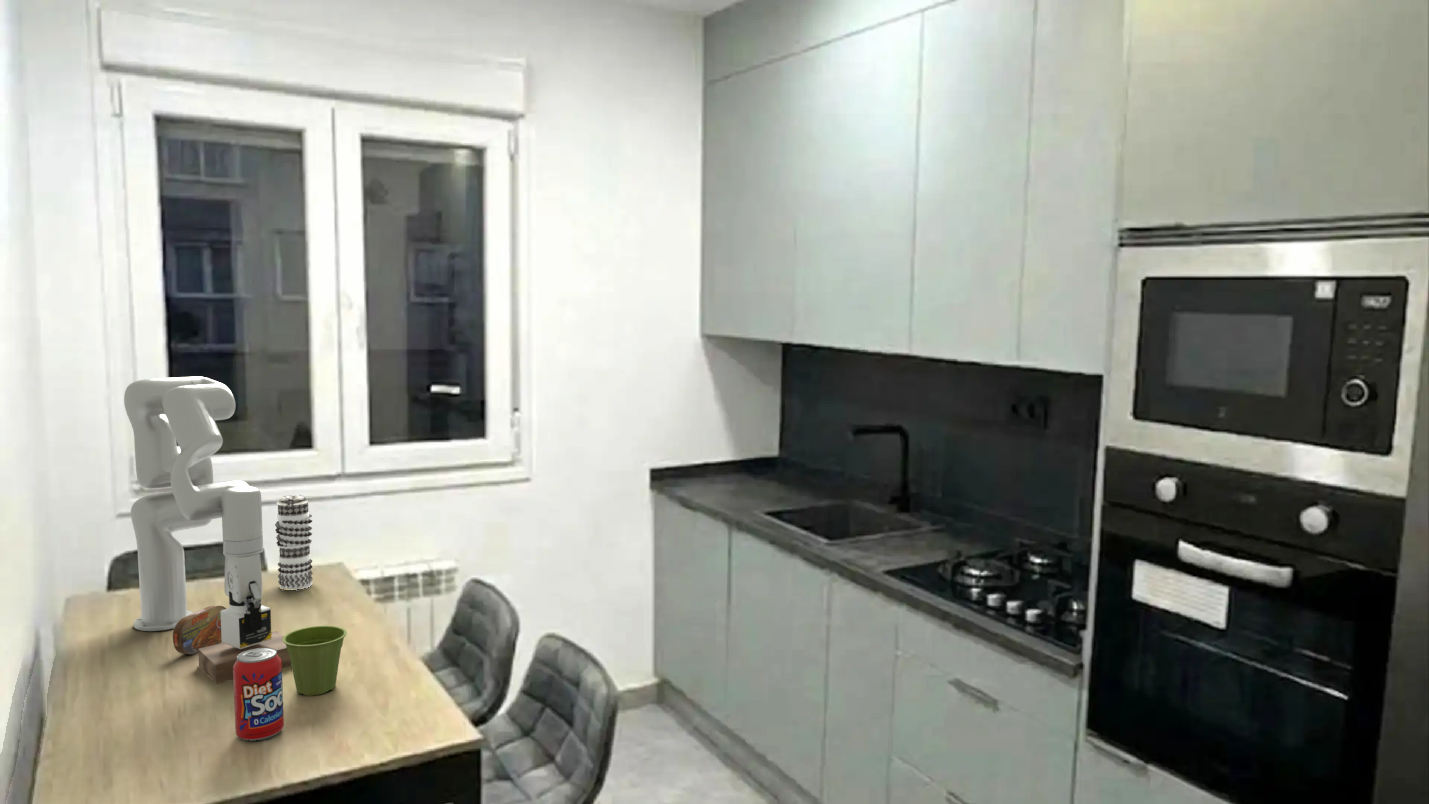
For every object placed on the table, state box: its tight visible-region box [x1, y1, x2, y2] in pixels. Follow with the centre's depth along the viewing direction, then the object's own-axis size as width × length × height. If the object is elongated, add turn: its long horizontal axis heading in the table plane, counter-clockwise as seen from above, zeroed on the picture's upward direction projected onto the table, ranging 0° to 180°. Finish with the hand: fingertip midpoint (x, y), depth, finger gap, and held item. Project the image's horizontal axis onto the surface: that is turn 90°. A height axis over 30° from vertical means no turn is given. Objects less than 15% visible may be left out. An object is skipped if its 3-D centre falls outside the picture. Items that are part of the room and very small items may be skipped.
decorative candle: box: [274, 494, 314, 591], centre depth 252 cm, size 9×9×25 cm
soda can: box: [232, 648, 285, 742], centre depth 166 cm, size 8×8×15 cm
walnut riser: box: [197, 630, 292, 685], centre depth 198 cm, size 12×16×4 cm
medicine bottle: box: [220, 591, 272, 649], centre depth 197 cm, size 7×7×12 cm
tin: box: [172, 605, 227, 656], centre depth 207 cm, size 15×3×8 cm, turn 168°
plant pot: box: [282, 625, 348, 697], centre depth 186 cm, size 12×12×11 cm
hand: (246, 625), depth 197 cm, fingers closed on medicine bottle, 8 cm apart
